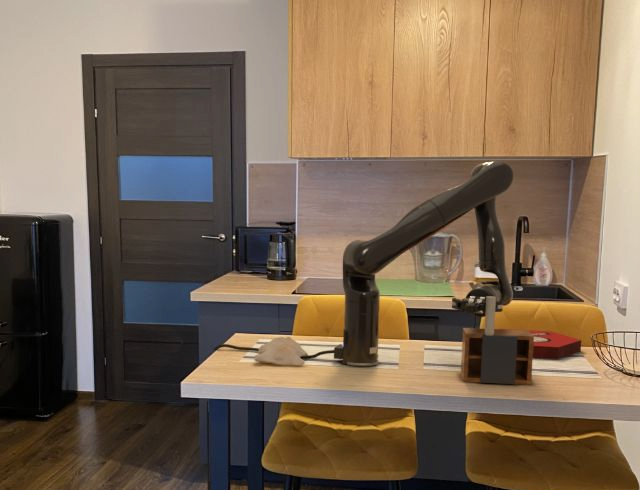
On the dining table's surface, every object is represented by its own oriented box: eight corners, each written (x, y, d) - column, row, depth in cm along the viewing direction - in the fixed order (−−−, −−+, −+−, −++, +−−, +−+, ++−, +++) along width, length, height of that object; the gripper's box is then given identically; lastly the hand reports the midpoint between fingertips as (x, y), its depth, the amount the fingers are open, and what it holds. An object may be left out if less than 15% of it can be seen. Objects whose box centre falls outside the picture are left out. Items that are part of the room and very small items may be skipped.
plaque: (461, 341, 232) (516, 361, 204) (462, 330, 232) (517, 349, 203) (535, 337, 240) (598, 357, 211) (536, 327, 239) (599, 345, 210)
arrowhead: (252, 348, 195) (266, 326, 225) (252, 367, 196) (266, 342, 225) (306, 351, 194) (313, 328, 223) (305, 370, 195) (312, 345, 224)
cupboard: (463, 381, 181) (465, 333, 180) (460, 373, 189) (462, 327, 187) (531, 384, 179) (534, 336, 177) (525, 377, 187) (528, 330, 185)
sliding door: (480, 383, 179) (485, 297, 176) (479, 381, 181) (484, 296, 178) (515, 384, 177) (520, 298, 174) (513, 382, 180) (518, 297, 177)
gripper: (457, 284, 193) (443, 292, 177) (510, 287, 187) (500, 295, 172) (456, 312, 194) (441, 322, 178) (508, 316, 188) (498, 327, 173)
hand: (470, 309), depth 175 cm, fingers closed
